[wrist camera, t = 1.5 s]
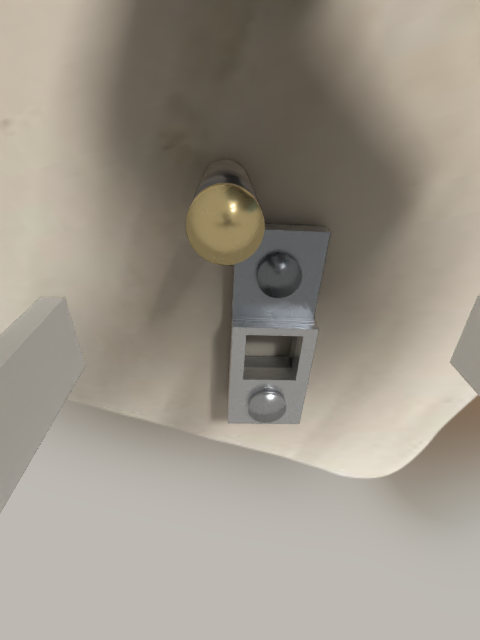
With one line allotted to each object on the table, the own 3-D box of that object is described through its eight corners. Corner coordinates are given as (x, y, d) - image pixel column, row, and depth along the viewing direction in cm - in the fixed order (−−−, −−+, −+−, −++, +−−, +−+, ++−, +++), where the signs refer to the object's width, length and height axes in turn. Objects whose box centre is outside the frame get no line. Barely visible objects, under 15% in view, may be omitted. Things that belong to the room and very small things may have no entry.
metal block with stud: (235, 222, 30) (237, 238, 26) (324, 226, 30) (340, 242, 26) (227, 397, 40) (228, 429, 36) (293, 398, 41) (300, 429, 37)
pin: (201, 158, 27) (184, 183, 16) (251, 160, 27) (268, 188, 16) (201, 209, 29) (186, 263, 18) (247, 211, 29) (261, 266, 18)
